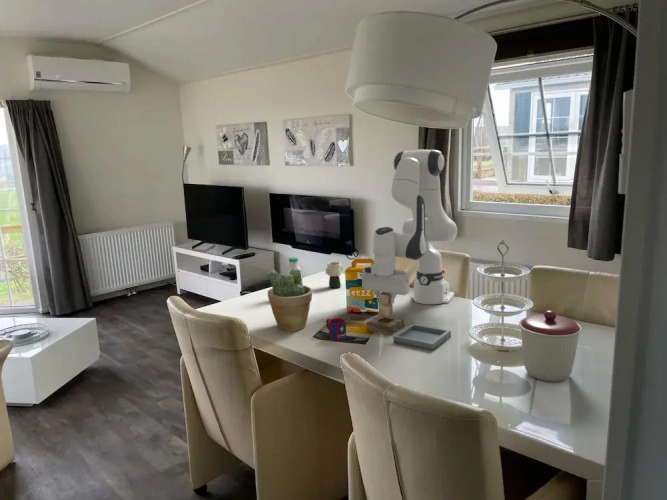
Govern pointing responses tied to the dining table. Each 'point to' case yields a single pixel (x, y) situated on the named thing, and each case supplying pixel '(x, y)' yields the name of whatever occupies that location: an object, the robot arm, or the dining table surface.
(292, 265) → the milk bottle
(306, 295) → the potted plant
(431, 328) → the tray
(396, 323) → the collar
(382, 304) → the peg
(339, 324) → the cup
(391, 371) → the dining table surface
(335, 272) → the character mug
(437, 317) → the dining table surface
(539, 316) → the canister
